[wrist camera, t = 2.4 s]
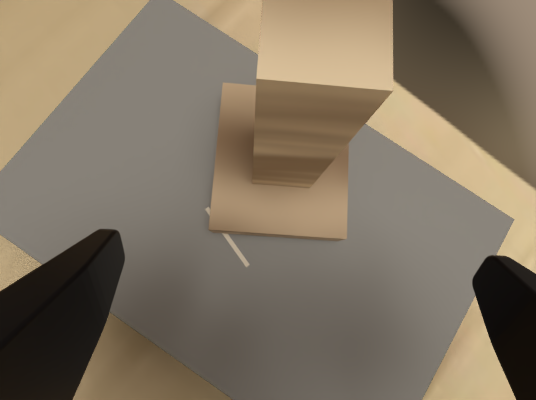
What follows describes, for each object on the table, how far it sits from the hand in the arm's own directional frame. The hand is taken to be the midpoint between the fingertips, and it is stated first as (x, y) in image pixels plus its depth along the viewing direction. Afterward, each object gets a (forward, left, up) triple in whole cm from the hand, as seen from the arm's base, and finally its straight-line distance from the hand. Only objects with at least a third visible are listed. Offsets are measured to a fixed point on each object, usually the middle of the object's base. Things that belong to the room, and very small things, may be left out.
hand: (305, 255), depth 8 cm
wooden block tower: (+2, -4, -10) cm, 12 cm away
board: (+2, -1, -12) cm, 12 cm away
